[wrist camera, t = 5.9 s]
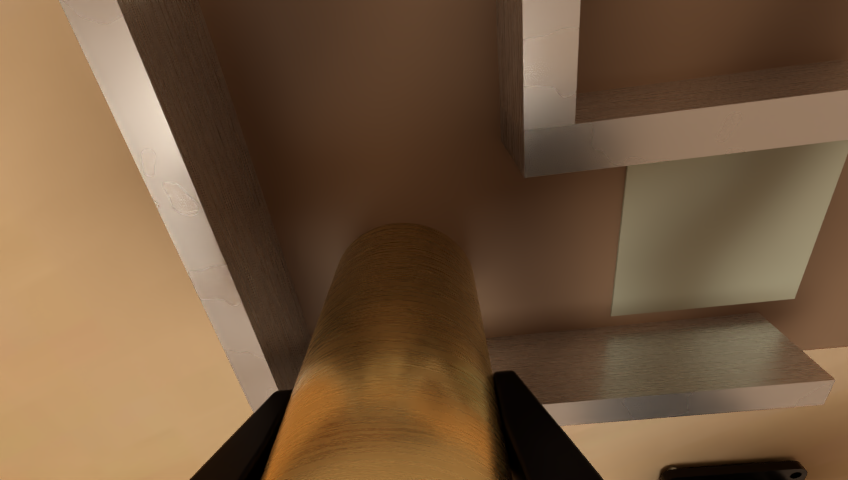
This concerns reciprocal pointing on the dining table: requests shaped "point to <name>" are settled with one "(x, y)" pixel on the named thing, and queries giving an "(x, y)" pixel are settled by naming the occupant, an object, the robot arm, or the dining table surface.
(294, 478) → the brass peg
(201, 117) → the steel rails
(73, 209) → the dining table surface
